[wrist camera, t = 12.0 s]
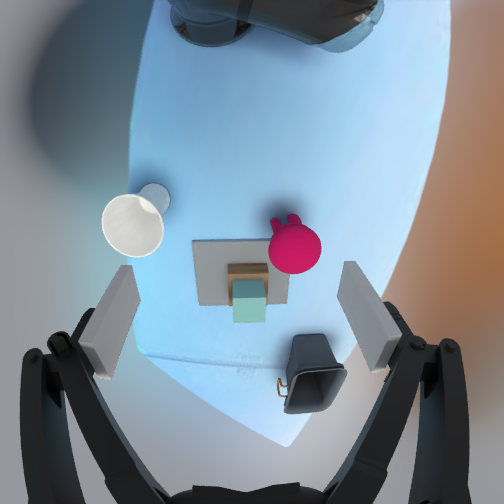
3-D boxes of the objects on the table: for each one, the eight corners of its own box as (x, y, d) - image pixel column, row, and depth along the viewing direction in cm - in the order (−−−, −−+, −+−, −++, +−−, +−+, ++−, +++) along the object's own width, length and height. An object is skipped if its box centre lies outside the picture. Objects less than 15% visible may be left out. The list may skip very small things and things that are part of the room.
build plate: (192, 240, 56) (192, 242, 55) (291, 238, 57) (292, 240, 56) (199, 302, 63) (199, 305, 62) (286, 300, 64) (286, 303, 63)
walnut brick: (227, 263, 58) (227, 274, 54) (266, 262, 58) (268, 273, 54) (229, 294, 61) (229, 306, 58) (265, 293, 62) (267, 305, 58)
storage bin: (318, 374, 80) (328, 411, 67) (270, 377, 79) (274, 416, 66) (335, 326, 70) (351, 367, 57) (277, 328, 69) (285, 373, 56)
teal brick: (232, 279, 55) (232, 298, 49) (263, 278, 55) (266, 297, 50) (233, 303, 58) (233, 322, 52) (262, 302, 58) (265, 321, 53)
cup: (123, 211, 52) (94, 241, 40) (140, 164, 48) (111, 183, 36) (168, 232, 55) (151, 267, 43) (189, 186, 50) (174, 212, 39)
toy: (270, 245, 57) (280, 288, 44) (255, 209, 53) (262, 245, 40) (309, 230, 56) (330, 270, 43) (296, 194, 52) (317, 224, 39)
